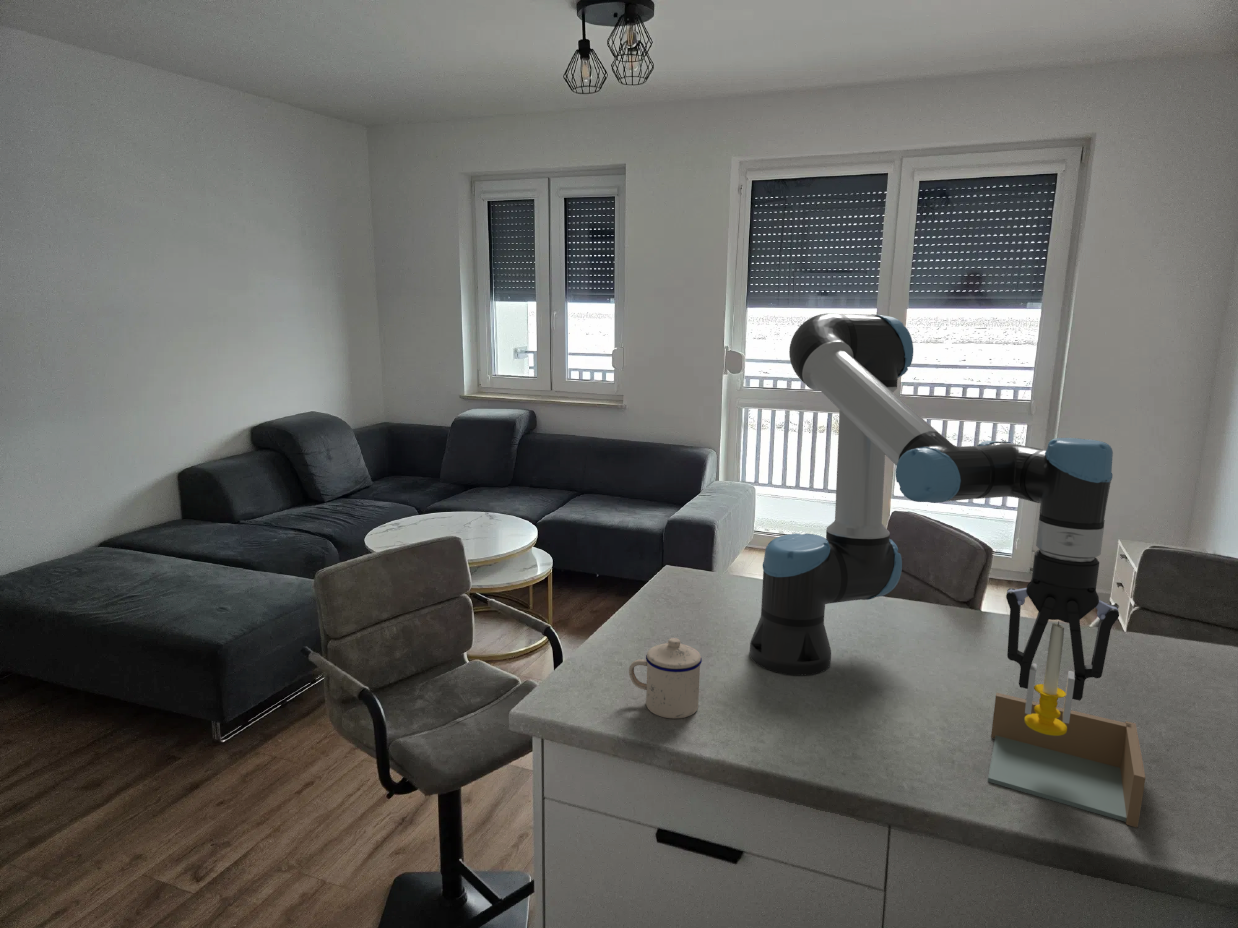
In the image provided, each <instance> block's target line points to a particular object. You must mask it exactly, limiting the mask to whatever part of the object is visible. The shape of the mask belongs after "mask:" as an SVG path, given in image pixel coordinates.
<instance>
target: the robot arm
mask: <svg viewBox="0 0 1238 928" xmlns="http://www.w3.org/2000/svg"><path fill="white" fill-rule="evenodd" d="M788 354H789V362H790V364H791V368H792V369H793V371H794V373H795V374H796V376H797V377H798V378H799V379H800V380H801V382H803V384H805V386H807V388H808V389H810V390H812V391H815V392H821V393H822V394H823V395H824V396H825V397H826V398H827V399H828V400H829V401H830V402H832V404H833V405H834V406H836V408H838V410H839V412H838V413H839V414H838V433H837V435H838V437H837V439H838V440H837V460H836V461H837V462H836V463H837V465H836V486H835V489H836V490H835V511H834V512H835V513H834V521H832V523H830V524H829V525H828V526H827V527H826V532H825V537H824V536H821V535H818V534H814V533H803V534H802V533H798V532H797V533H791V534H784V535H780V536H777V537H776V538H774V539H772V540H770V542H769V543H768V544H767V546H766V547H765V549H764V556H763V557H764V558H763V562H762V570H763V571H762V572H763V573H762V589H761V590H762V591H761V608H760V617H759V620H758V622H757V625H756V627H755V629H754V632H753V634H752V637H751V640H750V642H749V657H750V658H751V660H752V662H754V663H755V664H756V665H758V666H760V667H761V668H763V669H766V670H768V671H771V672H774V673H778V674H784V675H788V676H789V675H790V676H809V675H817V674H820V673H822V672H825V671H826V670H828V669H829V667H831V661H832V649H831V646H830V642H829V637H828V634H827V630H826V626H825V610H826V605H828V604H838V603H843V602H852V601H859V600H862V601H866V600H867V601H868V600H873V599H875V598H879V597H883V596H886V595H888V594H890V592H892V591H893V590H894V589H895V588H896V586H897V585H898V583H899V581H900V579H901V575H902V568H903V560H902V554H901V553H899V548H898V546H897V544H896V542H894V541H893V539H890V536H891V535H890V534H891V532H890V531H889V529H887V528H886V527H885V526H884V524H883V505H884V485H885V482H884V481H885V465H886V464H885V463H886V457H887V458H888V459H889V460H890V462H892V464H894V465H895V481H896V483H897V484H898V486H899V490H900V492H901V493H902V495H903V496H904V497H905V498H907V499H908V500H911V501H912V502H917V503H933V504H936V503H939V504H940V503H944V502H953V501H954V502H955V501H964V500H976V499H977V500H979V499H980V500H981V499H991V498H992V499H993V498H1004V497H1005V498H1006V497H1009V498H1016V499H1021V500H1025V501H1028V502H1033V503H1036V504H1039V516H1038V517H1039V518H1038V523H1037V532H1036V541H1035V542H1036V543H1035V547H1037V548H1038V550H1036V551H1035V552H1034V557H1033V563H1032V565H1033V567H1032V572H1031V573H1032V574H1031V579H1030V581H1029V583H1027V585H1026V587H1023V588H1017V589H1016V588H1014V587H1010V588H1008V589H1007V591H1006V595H1005V598H1006V601H1007V604H1008V606H1009V623H1008V640H1007V655H1006V656H1007V658H1008V660H1009V661H1013V662H1015V663H1017V664H1018V665H1019V666H1020V670H1019V679H1018V685H1019V688H1021V689H1027V690H1026V706H1025V713H1026V714H1030V715H1031V709H1032V701H1034V693H1035V692H1034V691H1035V689H1034V686H1035V685H1036V684H1035V682H1036V675H1037V668H1038V667H1037V665H1038V664H1037V663H1034V662H1033V660H1034V658H1035V655H1036V653H1037V650H1038V647H1039V645H1040V643H1041V640H1042V638H1043V634H1044V632H1045V630H1046V627H1047V625H1048V623H1049V620H1050V621H1055V620H1056V621H1057V620H1059V621H1062V622H1064V623H1066V624H1068V625H1069V631H1070V632H1069V633H1070V641H1071V643H1070V644H1071V650H1072V651H1071V652H1072V659H1073V668H1074V669H1073V670H1074V671H1072V670H1067V671H1068V672H1067V679H1066V685H1065V686H1066V687H1065V691H1064V692H1065V693H1066V696H1065V697H1064V700H1063V701H1064V702H1063V707H1062V708H1063V722H1064V723H1068V724H1069V720H1070V713H1071V710H1072V703H1073V700H1075V701H1079V702H1080V701H1081V700H1082V699H1083V697H1084V688H1085V682H1086V680H1087V679H1089V678H1091V679H1092V678H1094V679H1100V678H1102V676H1103V671H1104V668H1105V667H1104V666H1105V661H1106V655H1107V652H1108V651H1107V650H1108V646H1109V642H1110V641H1109V640H1110V637H1111V636H1110V635H1111V630H1112V627H1113V626H1114V624H1115V623H1116V621H1117V620H1118V619H1119V617H1120V611H1119V607H1118V606H1117V605H1116V604H1109V603H1107V602H1105V601H1102V600H1101V599H1100V598H1099V595H1098V593H1097V585H1098V576H1099V568H1100V561H1099V560H1098V558H1097V557H1099V556H1100V555H1101V554H1102V547H1103V539H1104V538H1103V537H1104V531H1105V515H1106V510H1107V505H1108V499H1109V493H1110V487H1111V483H1112V479H1113V456H1114V452H1113V448H1112V447H1111V445H1109V443H1106V442H1104V441H1101V440H1095V439H1090V438H1089V439H1085V438H1079V437H1078V438H1077V437H1055V438H1053V439H1051V440H1049V442H1048V443H1047V448H1046V449H1044V448H1037V447H1033V446H1028V445H1023V444H1022V445H1021V444H1016V443H1013V442H1010V441H1003V440H1002V441H995V440H985V441H982V442H980V443H978V444H977V445H969V446H966V445H964V446H957V445H954V444H953V443H952V442H950V441H949V440H948V439H947V438H946V437H945V436H943V435H942V434H941V433H940V432H939V431H938V430H937V429H935V428H934V427H933V426H932V425H930V424H929V423H928V422H927V421H926V420H925V419H924V418H923V417H922V416H920V415H919V414H918V413H917V412H916V411H915V410H914V409H913V408H911V407H910V406H909V405H908V404H906V403H905V402H904V401H903V400H902V399H901V398H899V396H897V395H896V394H895V393H894V392H895V391H896V390H897V389H898V378H901V377H902V376H903V375H905V374H907V372H908V371H909V367H911V365H912V363H913V359H914V343H913V339H912V335H911V334H910V332H909V329H908V328H907V326H905V325H904V323H903V322H902V321H901V320H900V319H898V318H896V317H893V316H889V315H881V314H877V313H876V314H856V313H855V314H854V313H853V314H852V313H848V314H847V313H827V312H826V313H822V314H817V315H813V316H812V317H811V318H808V319H807V320H805V321H803V323H801V324H800V325H799V327H798V328H797V329H796V331H795V332H794V333H793V335H792V337H791V341H790V344H789V353H788ZM1027 597H1029V599H1030V601H1031V602H1032V604H1033V606H1034V607H1035V608H1036V611H1038V613H1037V615H1036V618H1035V621H1034V624H1033V627H1032V629H1031V632H1030V635H1029V637H1028V640H1027V642H1026V645H1025V648H1024V650H1023V651H1020V650H1019V639H1020V638H1019V637H1020V625H1021V623H1020V621H1021V608H1022V607H1021V606H1023V605H1024V604H1025V603H1026V602H1025V601H1026V598H1027ZM1094 609H1096V610H1097V612H1096V614H1097V618H1098V619H1099V622H1098V627H1097V632H1096V636H1095V637H1096V638H1095V643H1094V647H1093V653H1092V658H1091V664H1085V657H1084V647H1083V640H1082V639H1083V637H1082V631H1081V630H1082V629H1081V621H1080V620H1082V619H1083V618H1084V617H1085V616H1087V615H1088V614H1089V613H1090V612H1091V611H1093V610H1094Z"/></svg>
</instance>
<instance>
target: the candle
mask: <svg viewBox="0 0 1238 928" xmlns="http://www.w3.org/2000/svg"><path fill="white" fill-rule="evenodd" d="M1064 632H1065V627H1064V626H1063V625H1061V624H1060V620H1059V621H1058V622H1057V623H1055V622H1052V623H1051V629H1050V636H1049V642H1048V647H1047V648H1048V650H1047V657H1046V663H1045V664H1046V665H1045V671H1044V678H1043V683H1039V684H1038V683H1037V684H1035V685H1034V691H1036V692H1037V693H1038V694H1039V696H1040V697H1039V698H1038V701H1039V705H1036V706H1035V707H1034V711H1035V712H1036V714H1031V715H1030V714H1028V715H1026V716H1025V719H1024V721H1025V723H1026V725H1027V726H1028V727H1029V728H1031V729H1033V730H1035V731H1037V732H1039V733H1043V734H1047V735H1053V736H1060V735H1064V734H1065V733H1066V732H1067V726H1066V725H1065V724H1064V723H1063V722H1062V721H1060V720H1059V719H1057V718H1058V717H1060V714H1061V713H1060V711H1059V710H1058V709H1056V708H1057V707H1058V699H1061V698H1065V696H1066V693H1065V692H1066V691H1064V690H1063V689H1061V688H1060V687H1059V680H1060V679H1059V678H1060V670H1061V664H1062V663H1061V662H1062V654H1063V648H1064V647H1063V646H1064V639H1065V637H1064V635H1065V633H1064Z"/></svg>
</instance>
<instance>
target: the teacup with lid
mask: <svg viewBox="0 0 1238 928" xmlns="http://www.w3.org/2000/svg"><path fill="white" fill-rule="evenodd" d="M702 662H703V660H702V656H701V653H700V652H699V651H698V650H697V649H696V648H694V647H692V646H690V645H687V644H683V643H681V640H680V639H679V638H677V637H672V638H669V639H668V640H667V642H666V643H662V644H661V643H660V644H657V645H654V646H652V647H651V648H649V649H648V651H647V652H646V655H645V659H642V658H640V659H636V660H634V661H633V662H631V663H630V665H629V668H628V674H629V678H630V681H631V682H632V684H633V685H634V686H635V687H636V688H638V689H641V690H644V691H646V692H645V694H646V697H645V698H646V699H645V700H646V701H645V704H646V705H645V706H646V707H647V709H648V710H649V711H650V712H651V713H652V714H655V715H656V716H659V717H661V718H667V719H683V718H687V717H691V716H692V715H693V714H695V713H696V712H697V711H698V709H699V701H700V700H699V697H700V696H699V695H700V677H701V675H700V674H701V673H700V671H701V664H702ZM637 666H644V667H646V683H644V682H641V681H640V680H639V679H638V678H637V677H636V674H635V667H637Z"/></svg>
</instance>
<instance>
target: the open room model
mask: <svg viewBox="0 0 1238 928" xmlns="http://www.w3.org/2000/svg"><path fill="white" fill-rule="evenodd" d="M1036 705H1039V702H1038V701H1034V700H1033V701H1032V709H1031V714H1036V712H1035V711H1034V707H1035V706H1036ZM1025 706H1026V699H1025V698H1021V697H1017V696H1012V695H1008V694H1004V693H1000V692H995V700H994V707H993V709H994V710H993V716H992V717H993V718H992V726H991V735H990V738H991V739H993V740H994V743H993V747H992V753H991V759H990V765H989V770H988V777H987V782H988V783H992V784H995V785H999V786H1001V787H1006V788H1008V789H1011V790H1015V791H1019V792H1022V793H1026V794H1029V795H1032V796H1035V797H1039V798H1043V799H1047V800H1050V801H1053V802H1056V803H1060V804H1063V805H1067V806H1070V807H1073V808H1077V809H1080V810H1083V811H1087V812H1091V813H1094V814H1096V815H1097V814H1098V815H1101V816H1105V817H1107V818H1111V819H1115V820H1118V821H1122V822H1125V825H1126V826H1129V827H1130V826H1131V827H1133V828H1139V821H1140V815H1141V808H1142V803H1143V795H1144V790H1145V784H1146V773H1145V768H1144V767H1145V766H1144V762H1143V756H1142V750H1141V746H1140V739H1139V736H1138V735H1139V734H1138V729H1137V723H1134V722H1131V721H1127V720H1126V721H1125V722H1123V721H1119V720H1114V719H1110V718H1107V717H1101V716H1097V715H1093V714H1090V713H1089V714H1088V713H1084V712H1081V711H1080V712H1079V711H1077V710H1073V709H1071V713H1070V720H1069V724H1068V723H1064V722H1063V708H1064V707H1059V706H1057V708H1056V709H1058V710H1059V711H1060V713H1061V714H1060V717H1058V718H1057V719H1059V720H1060V721H1062V722H1063V723H1064V724H1065V725H1066V726H1067V732H1066V733H1065V734H1064V735H1060V736H1053V735H1047V734H1043V733H1039V732H1037V731H1035V730H1033V729H1031V728H1029V727H1028V726H1027V725H1026V723H1025V721H1024V719H1025V716H1026V715H1028V714H1026V713H1025Z"/></svg>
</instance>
